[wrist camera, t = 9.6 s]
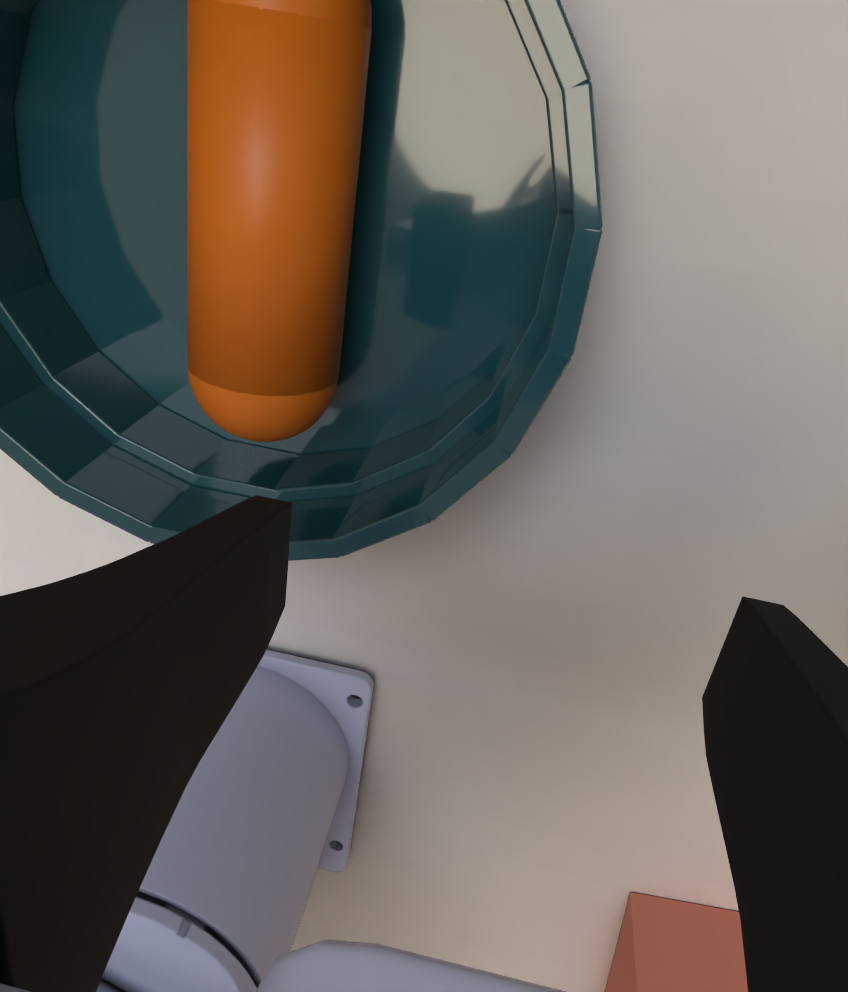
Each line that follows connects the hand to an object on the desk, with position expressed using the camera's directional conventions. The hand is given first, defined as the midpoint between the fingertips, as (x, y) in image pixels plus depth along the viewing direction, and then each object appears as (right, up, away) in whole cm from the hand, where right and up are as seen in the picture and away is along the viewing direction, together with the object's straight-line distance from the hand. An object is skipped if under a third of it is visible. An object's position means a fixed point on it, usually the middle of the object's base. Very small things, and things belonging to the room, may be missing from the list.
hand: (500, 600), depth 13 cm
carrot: (-5, +9, +6) cm, 12 cm away
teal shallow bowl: (-5, +9, +7) cm, 12 cm away
